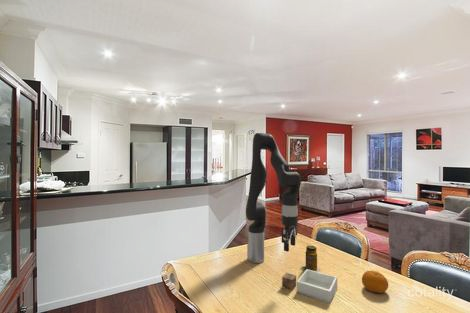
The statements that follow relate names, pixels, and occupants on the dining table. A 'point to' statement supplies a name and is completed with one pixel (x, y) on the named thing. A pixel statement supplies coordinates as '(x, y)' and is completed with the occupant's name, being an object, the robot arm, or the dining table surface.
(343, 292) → the dining table surface
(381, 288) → the fruit
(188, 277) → the dining table surface
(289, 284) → the walnut cube
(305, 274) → the tub
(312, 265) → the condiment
